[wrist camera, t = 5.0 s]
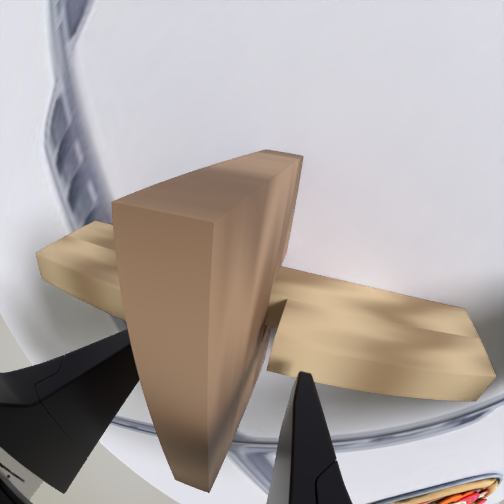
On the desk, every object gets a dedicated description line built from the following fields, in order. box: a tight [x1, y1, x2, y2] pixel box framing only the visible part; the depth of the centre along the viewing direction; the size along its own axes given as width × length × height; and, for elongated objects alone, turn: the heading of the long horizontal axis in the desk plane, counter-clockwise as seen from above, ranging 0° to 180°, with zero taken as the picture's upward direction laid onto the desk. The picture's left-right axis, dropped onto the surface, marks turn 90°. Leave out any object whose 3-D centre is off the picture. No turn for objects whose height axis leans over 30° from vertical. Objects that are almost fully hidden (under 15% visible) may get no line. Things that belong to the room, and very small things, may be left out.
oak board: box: [36, 221, 496, 401], centre depth 12 cm, size 22×2×5 cm, turn 83°
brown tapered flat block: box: [112, 150, 303, 493], centre depth 10 cm, size 12×2×9 cm, turn 173°
